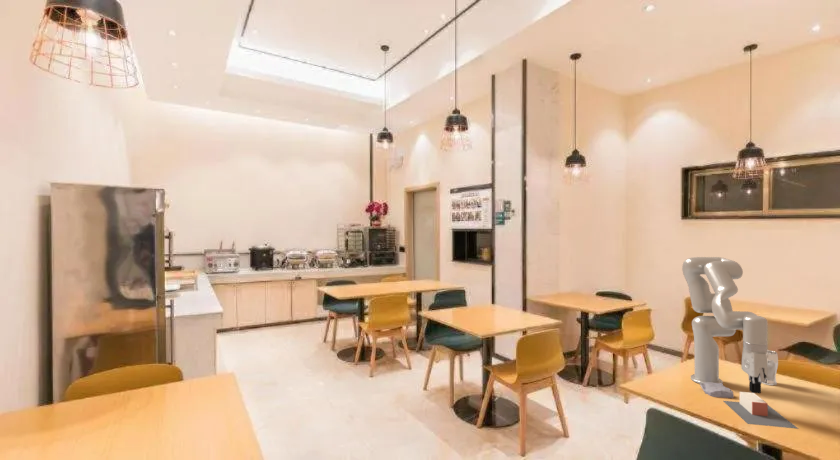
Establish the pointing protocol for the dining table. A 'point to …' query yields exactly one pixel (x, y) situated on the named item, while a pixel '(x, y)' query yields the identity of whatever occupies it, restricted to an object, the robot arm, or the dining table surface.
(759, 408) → the cream block
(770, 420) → the charcoal mat
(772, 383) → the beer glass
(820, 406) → the dining table surface
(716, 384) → the stone block
